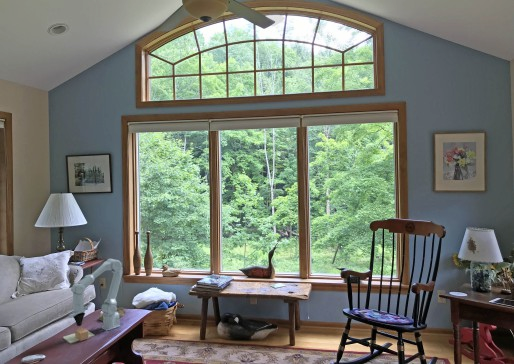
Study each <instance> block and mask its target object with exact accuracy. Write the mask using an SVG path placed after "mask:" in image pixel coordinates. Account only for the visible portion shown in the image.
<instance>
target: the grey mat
mask: <svg viewBox="0 0 514 364" xmlns="http://www.w3.org/2000/svg"><path fill="white" fill-rule="evenodd" d="M87 331H88V339H89V338H92V337H95V334H94V333H92V332H91V331H89V330H87ZM62 339H63V340H65V341H66V342H67V343H69V344H73V343H74V344H75V343H76V342H81V341H80V340H79V339H77V338H76V337H75V332H74V333H71V334H69V335H68V334H67V335H64V336H63V337H62Z"/></svg>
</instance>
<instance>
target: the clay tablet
mask: <svg viewBox="0 0 514 364" xmlns="http://www.w3.org/2000/svg"><path fill="white" fill-rule="evenodd" d="M124 309H125V308H124V307H117V310H116V312H118V313H119V320H120V319H121V318H123V317H124V315H125V314H126V310H124ZM98 319H99V321H101V322H103V312H102V313H101V314H100V315H98Z"/></svg>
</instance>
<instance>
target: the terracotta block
mask: <svg viewBox="0 0 514 364" xmlns="http://www.w3.org/2000/svg"><path fill="white" fill-rule="evenodd" d="M88 331H89V330H87V329H85V328H84V327H80V328H77V329H75V330H74V333H75V337H76V338H77V339H79V340H80V341H79V342H82V341H85V340H87V339H89V338H88Z"/></svg>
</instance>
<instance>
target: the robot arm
mask: <svg viewBox="0 0 514 364" xmlns="http://www.w3.org/2000/svg"><path fill="white" fill-rule="evenodd" d="M122 266H123V263H122V262H121V260H119V259H114V258H108V259H107V260H106V261H104V262H103V263H102V264H101V265H100V266H99V267H98V268H97V269H95V270H94V271H93V272H92V273H91V274H87V275H85V276H84V277H83V278H82V279H81V280H79V281H78V282H77V283H74V284H73V285H72V286H71V288H70V291H71V292H72V301H73V302H72V303H73V305H72V306H73V307H72V308H73V309H72V310H73V311H72V312H71V313H69V314H68V318H69V319H74V321H75V323H76V326H77V327H80V326H82V325H83V319H84V317H85V316H86V313H85V312H86V311H88V309H89V306H86V305H85V304H84V303H85V302H84V292H85V290H86V289H87V288H88V287H89V286H91V285H92V284H93V283H94V282H95V279H96V278H98V277H99V276H100V275H102V274H103V273H104V272H105V271H111V272H112V275H113V276H112V278H111V283H110V286H109V289H108V293H107V297H106V299H105V300H104V301H103V303H102V305H101V306H100V310H101V311H102V313H103V321H102V322H103V326H101V327H100V329H102V330H104V331H106V332H107V331H109V330H113V329H116V328H119V327H121V324H120V323H121V321H120V319H119V313H118V312H116V310H117V308H118V307H117V305H118V304H117V303H118V302H117V295H118V293H119V289H120V288H119V287H120V285H121V281H122V277H123V273H124V272H123V267H122Z"/></svg>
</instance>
